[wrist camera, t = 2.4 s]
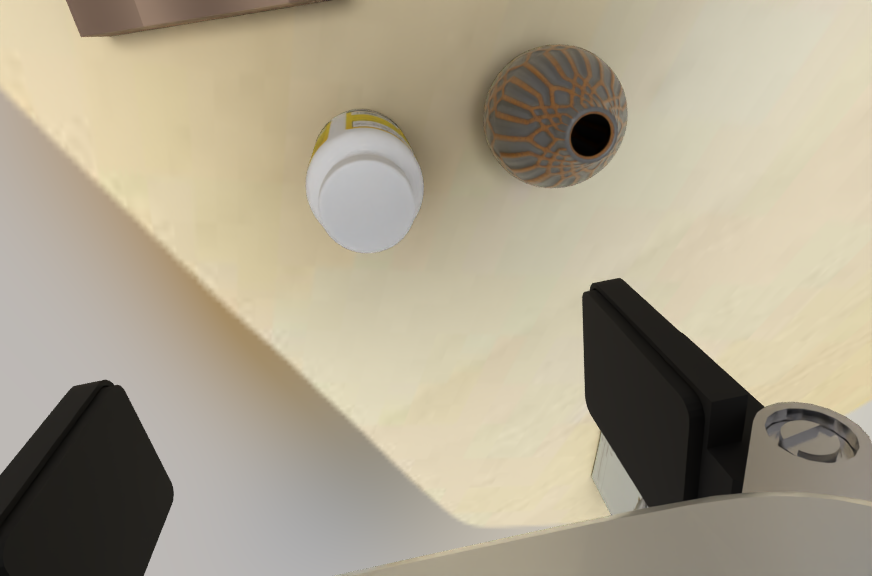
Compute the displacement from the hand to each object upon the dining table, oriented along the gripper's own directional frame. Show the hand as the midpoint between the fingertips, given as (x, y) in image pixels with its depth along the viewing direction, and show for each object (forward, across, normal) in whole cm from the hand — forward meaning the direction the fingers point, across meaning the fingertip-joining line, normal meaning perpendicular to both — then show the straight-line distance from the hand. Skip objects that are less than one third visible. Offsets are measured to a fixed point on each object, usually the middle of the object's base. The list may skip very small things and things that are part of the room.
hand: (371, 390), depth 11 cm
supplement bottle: (+22, 0, 0) cm, 22 cm away
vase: (+22, -10, -1) cm, 24 cm away
